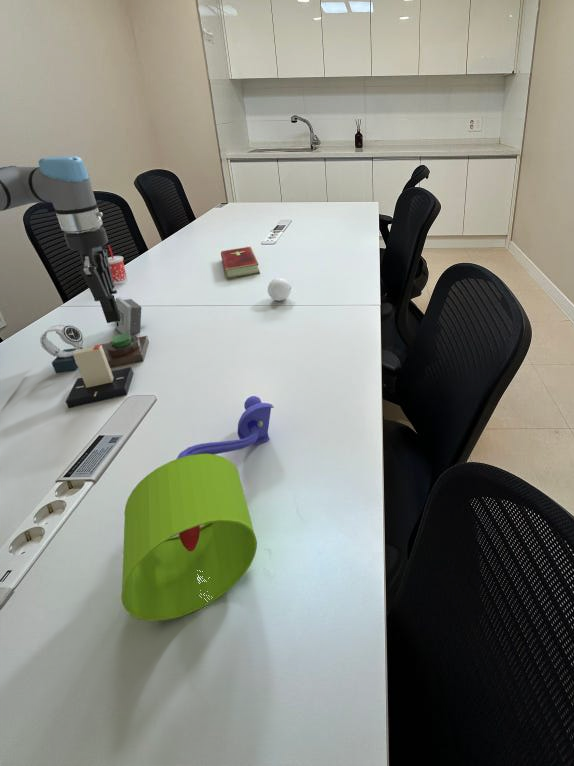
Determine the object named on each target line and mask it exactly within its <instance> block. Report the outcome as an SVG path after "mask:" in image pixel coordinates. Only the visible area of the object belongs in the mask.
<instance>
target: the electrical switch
mask: <svg viewBox="0 0 574 766" xmlns="http://www.w3.org/2000/svg"><path fill="white" fill-rule="evenodd" d="M115 301H116V304H117V307H118V310H119V313H120V316H121V319H120V321H117V322H114V328H115V329H116V330H117V331H118V332H119V333H120V334H130V335H136V334H139V333H141V325H142V306H141V305H140V304H139V303H137V302H136V301H134V300H133V299H132V298H129V299H123V298H122V297H120V296H119V297H115Z"/></svg>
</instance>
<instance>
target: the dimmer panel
mask: <svg viewBox="0 0 574 766" xmlns="http://www.w3.org/2000/svg"><path fill="white" fill-rule="evenodd" d="M111 372H112V375H113V377H114V379H113V381H112V382H111V383H106V384H102V385H97V386H93V387H88V388H86V386H85V383H84V381H83V378H82V376H81V377H78V378H76V380H75V382H74V384H73V386H72V388H71V390H70V392H69V394H68V396H67V397H66V400H65V403H66V406H67V408H68V409H73V408H76V407H81V406H85V405H90V404H94V403H98V402H103V401H107V400H112V399H115V398H120V397H124V396H128V393H129V390H130V386H131V383H132V380H133V377H134V371H133V368H132V366H130V367H125V368H120V369H116V370H111Z"/></svg>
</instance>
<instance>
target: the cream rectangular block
mask: <svg viewBox="0 0 574 766" xmlns="http://www.w3.org/2000/svg"><path fill="white" fill-rule="evenodd" d="M73 356H74V359H75V361H76V364H77V366H78V369H77V370H78V371H79V373H80V376H81V377H82V378H83V381H84V383H85V386H86V388H88V387H93V386H97V385H102V384H106V383H111V382H112V381H113V379H114V377H113V375H112V372H111V371H112V370H111V369H112V368H110V367H109V364H108V361H107V358H106V356H105V353H104V350H103V348H102V345H100V344H96V346H95V345H94V346H90V347H83V349H78V350H75V351H74V353H73Z"/></svg>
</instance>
